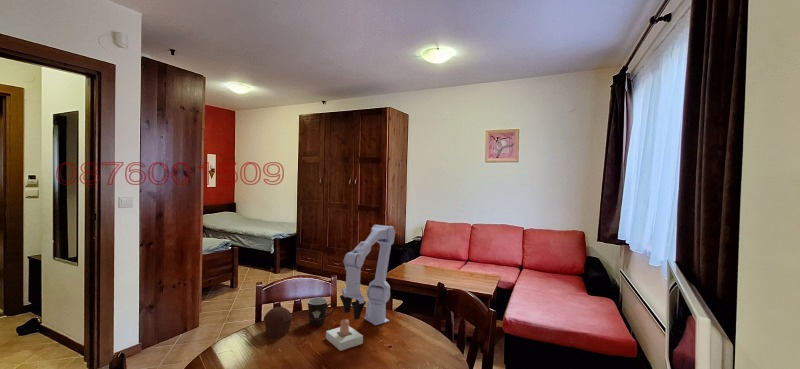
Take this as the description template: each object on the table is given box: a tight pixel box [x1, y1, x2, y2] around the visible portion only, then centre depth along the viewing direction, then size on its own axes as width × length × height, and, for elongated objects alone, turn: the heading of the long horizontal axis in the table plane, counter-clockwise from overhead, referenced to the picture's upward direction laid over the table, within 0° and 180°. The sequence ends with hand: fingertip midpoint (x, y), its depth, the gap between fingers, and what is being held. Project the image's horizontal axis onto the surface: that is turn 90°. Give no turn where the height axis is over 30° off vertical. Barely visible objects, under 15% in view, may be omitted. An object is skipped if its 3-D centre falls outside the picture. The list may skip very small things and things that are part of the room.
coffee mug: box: [307, 297, 336, 327], centre depth 145 cm, size 12×9×10 cm
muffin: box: [263, 306, 293, 338], centre depth 135 cm, size 12×11×10 cm
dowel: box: [339, 318, 350, 337], centre depth 130 cm, size 3×3×8 cm
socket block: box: [325, 325, 364, 352], centre depth 130 cm, size 12×10×3 cm
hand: (352, 315), depth 131 cm, fingers open, 7 cm apart
